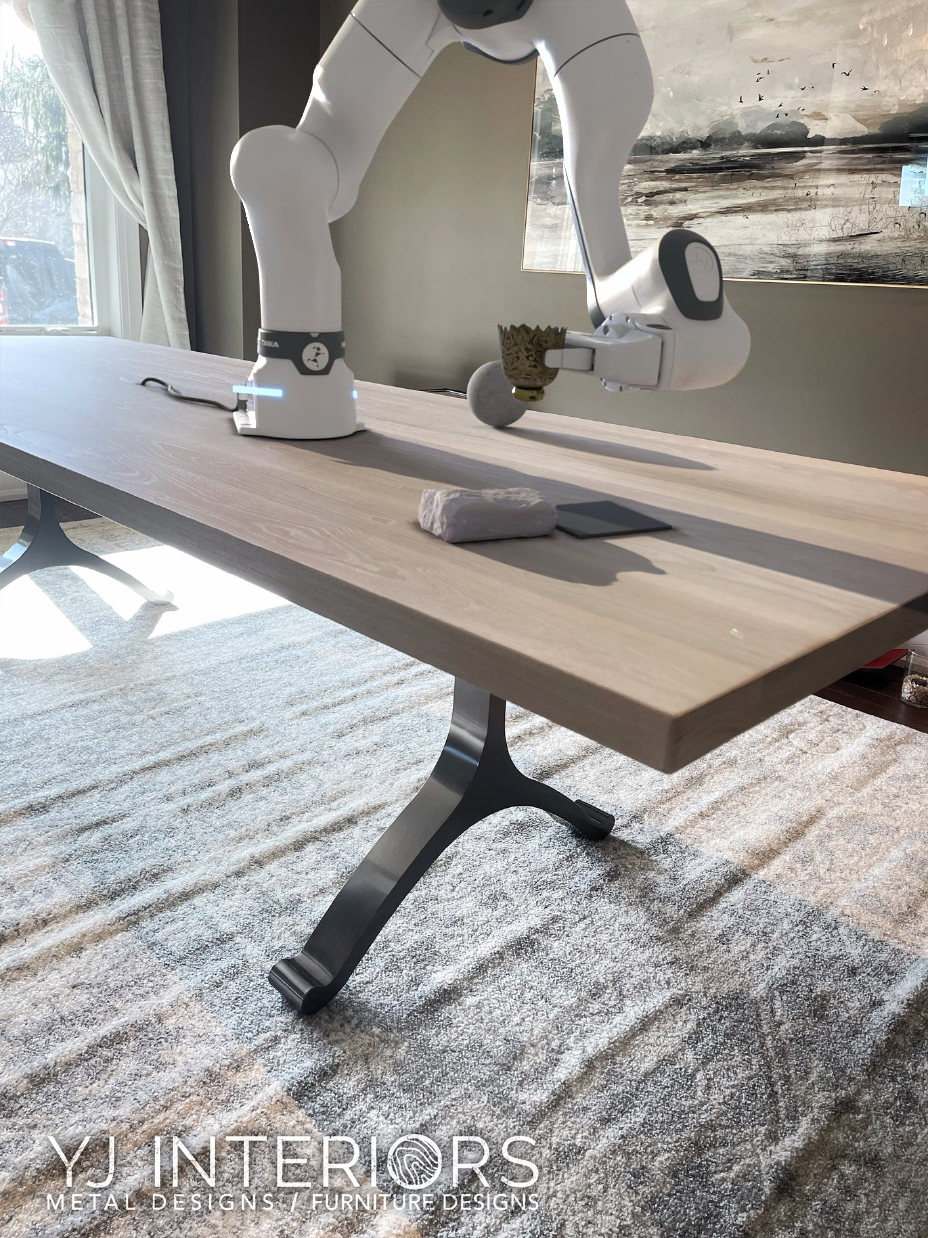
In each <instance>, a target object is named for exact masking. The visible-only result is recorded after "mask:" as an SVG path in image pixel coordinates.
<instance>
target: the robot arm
mask: <svg viewBox="0 0 928 1238" xmlns="http://www.w3.org/2000/svg"><path fill="white" fill-rule="evenodd" d="M456 42H461V44H462V46H463V47H464V49H466V50H468V51H470V52H472V53H475V54H476V55H479V56H482V57H484V58H486V59H488V60H489V61H493V62H495V63H499V64H502V65H506V66H522V65H526V64H529V63H530V62H532V61H535V60H536V59H537V58H538V57H539V56H540V58H541V59H542V61H543V63H544V67H545V69H546V72H547V75H548V78H549V81H550V84H551V86H552V89H553V93H554V96H555V99H556V103H557V107H558V112H559V116H560V117H559V118H560V122H561V129H562V130H561V131H562V140H563V156H562V157H563V158H562V159H563V160H562V161H563V163H562V164H563V165H562V168H563V179H564V184H565V189H566V195H567V199H568V204H569V208H570V212H571V216H572V220H573V225H574V230H575V234H576V237H577V242H578V246H579V250H580V254H581V258H582V263H583V268H584V272H585V277H586V289H587V291H586V293H587V294H586V295H587V297H586V298H587V310H588V317H589V319H590V322H591V325H592V327H593V328H594V330H595V331H594V332H593V333H588V332H581V331H576V330H567V332H566V337H565V343H564V349H543V350H542V351H541V360H540V363H541V365H542V366H545V367H550V368H560V369H559V371H566V372H570V373H575V374H580V375H584V376H589V377H593V378H595V379H596V380H597V381H599V382H600V383H601V385H602V386H603V387H604V388H605V389H606V390H607V391H609V392H611V393H616V394H618V393H619V394H620V393H644V392H649V393H650V392H656V391H657V392H658V391H661V392H662V391H664V392H665V391H671V390H672V391H694V390H702V389H709V388H715V387H719V386H721V385H725V384H727V383H728V382H730V381H732V380H733V379H734V378H736V377H737V376H738V375H739V374H740V372H741V371H742V369H744V367H745V365H746V363H747V360H748V358H749V355H750V351H751V347H752V340H751V333H750V330H749V327H748V324H746V322H745V321H744V320H743V318H741V317H740V316H739V315H738V314H737V313H736V312H735V311H734V309H733V307H732V306H731V304H730V302H729V300H728V297H727V295H726V292H725V290H724V276H723V275H724V274H723V268H722V262H721V259H720V256H719V254H718V251H717V250H716V249H715V247H714V245H712V243H711V242H710V241H709V240H708V239H706V238H705V236H702V235H701V234H699V233H698V232H695V231H693V230H690V229H685V228H674V229H671V230H669V231H667V232H666V233H665V234H663V235H661V236H660V237H658V238H657V239H655V240H654V241H653V242H651V243H650V244H649V245H647V246H645V247H644V248H643V249H641V250H640V251H639V252H638V253H637V254H636V255H634V256H632V252H631V247H630V242H629V240H628V234H627V230H626V226H625V222H624V217H623V212H622V210H621V209H622V208H621V203H620V184H621V179H622V175H623V172H624V169H625V167H626V164H627V161H628V159H629V157H630V154H631V152H632V150H633V149H634V147H635V144H636V142H637V140H638V139H639V137H640V134H641V133H642V132H643V130H644V128H645V126H646V124H647V122H648V119H649V117H650V114H651V111H652V108H653V103H654V98H655V89H654V87H655V86H654V77H653V71H652V67H651V63H650V60H649V57H648V53H647V51H646V48H645V45H644V43H643V40H642V37H641V35H640V32H639V29H638V26H637V23H636V21H635V20H634V16H633V14H632V12H631V9H630V8H629V6H628V4H627V1H626V0H358V1H357V2H356V3H355V5H354V7H353V9H352V10H351V11H350V13H349V14H348V15H347V17H346V19H345V21H343V24H342V25H341V26H340V28H339V30H338V32H336V35H335V36H334V38H333V40H332V41H331V43H330V44H329V46H328V48H327V49H326V51H325V52H324V54H323V55H322V57H321V58H320V60H319V61H318V63H317V64H316V66H315V68H314V71H313V76H312V88H311V92H310V94H309V95H310V96H309V98H308V101H307V104H306V106H305V109H304V112H303V114H302V117H301V119H300V121H299V123H298V124H297V126H296V127H295V128H293V127H290V126H287V125H282V124H273V125H266V126H262V127H258V128H254V129H252V130H250V131H248V132H246V133H245V134H244V135H243V136H241V138H240V139H239V140H238V141H237V143H236V145H235V146H234V148H233V151H232V154H231V157H230V170H229V171H230V177H231V182H232V185H233V187H234V190H235V191H236V193H237V194H238V196H239V198H240V200H241V202H242V203H243V206H244V209H245V213H246V217H247V222H248V224H249V229H250V233H251V237H252V241H253V246H254V250H255V254H256V260H257V265H258V266H257V267H258V275H259V294H260V295H259V296H260V319H261V322H260V323H261V328H259V329H258V336H257V351H256V352H257V354H258V359H257V361H256V363H255V365H254V367H253V369H252V371H251V373H250V375H249V377H248V379H245V380H244V383H238V384H237V385H232V392H233V393H236V399H237V401H236V405H235V406H234V407H228V406H227V405H224V404H223V403H221V402H218V401H216V400H213V399H207V398H200V397H193V396H187V395H183V394H180V393H177V392H175V391H174V390H173V389H174V387H173V385H172V384H170V383H168V382H166V381H164V380H161V379H159V378H156V377H153V376H148V377H145V378H143V380H142V381H141V382H140V386H145V385H146V384H147V382H153V383H157V384H159V385H161V386H163V387H165V388H167V391H168V393H169V394H170V395H171V396H172V397H174V398H176V399H179V400H182V401H187V402H192V403H193V402H194V403H198V404H206V405H211V406H215V407H217V408H219V409H222V410H224V411H228V412H233V418H232V419H233V421H234V424H235V427H236V430H237V432H238V434H240V435H248V436H249V435H250V436H263V437H264V436H265V437H271V438H281V439H297V440H299V439H303V440H304V439H307V440H309V439H311V440H312V439H314V440H315V439H331V438H339V437H344V436H349V435H351V434H353V433H355V432H358V431H364V430H366V423H365V421H364V420H358V419H357V417H358V416H357V404H356V403H357V401H356V399H357V398H358V391H356V385H355V375H354V372H353V371H352V370H351V369H350V368H349V367H348V366H347V365H346V363H345V361H344V359H343V358H345V356H346V345H347V344H346V343H347V342H346V339H345V332H344V331H343V329H342V271H341V268H340V265H339V263H338V260H337V258H336V254H335V251H334V247H333V242H332V236H331V231H330V225H329V223H330V224H331V223H333V222H334V221H337V220H339V219H341V218H342V217H344V216H345V215H346V214H348V213H349V212H350V211H351V210H352V209H353V207H354V205H355V204H356V201H357V199H358V196H359V191H360V185H361V183H362V181H363V179H364V177H365V175H366V173H367V171H368V169H369V167H370V164H371V162H372V160H373V157H374V155H375V153H376V151H377V149H378V147H379V144H380V143H381V140H382V139H383V137H384V135H385V134H386V131H388V128H389V127H390V125H391V123H392V122H393V121H394V119H395V118H396V116H397V115H398V113H399V112H400V110H401V109H402V108H403V106H404V104H405V103H406V101H407V100H408V98H409V97H410V96H411V94H413V93H412V92H413V91H414V90H415V89H416V87H417V85H418V84H419V83H420V81H421V80H422V78H423V77H424V75H425V74H426V72H427V70H428V69H429V68H430V66H431V64H432V63H433V62H434V61H435V59H436V57H437V56H438V55H439V54H440V52H441V51H443V49H445V47H447V46H448V45H450V44H452V43H456ZM542 330H543V331H544V330H545V329H542ZM560 330H561V329H559V332H560Z"/></svg>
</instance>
